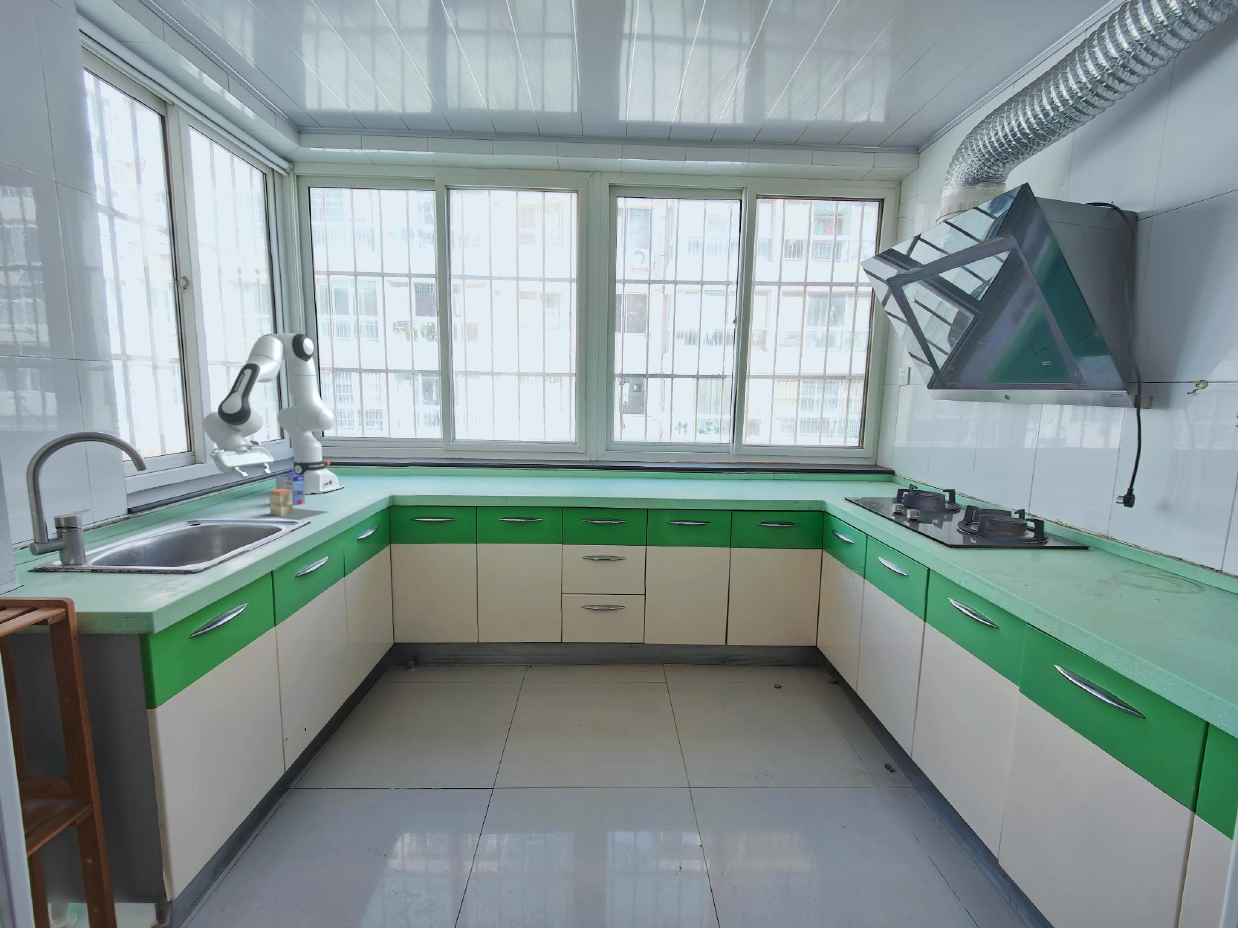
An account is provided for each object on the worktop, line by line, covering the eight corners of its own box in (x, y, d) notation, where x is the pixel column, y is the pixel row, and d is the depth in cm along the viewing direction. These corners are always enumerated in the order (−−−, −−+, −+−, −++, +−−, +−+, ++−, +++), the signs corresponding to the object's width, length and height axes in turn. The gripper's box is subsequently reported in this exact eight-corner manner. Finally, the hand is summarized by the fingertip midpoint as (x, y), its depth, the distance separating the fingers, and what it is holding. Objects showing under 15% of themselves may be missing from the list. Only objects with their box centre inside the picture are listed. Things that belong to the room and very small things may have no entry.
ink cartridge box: (306, 504, 220) (304, 469, 218) (293, 506, 215) (291, 471, 213) (288, 502, 223) (286, 467, 221) (276, 504, 218) (273, 469, 216)
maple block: (282, 511, 203) (281, 488, 202) (292, 513, 202) (291, 489, 201) (270, 514, 198) (269, 490, 197) (281, 515, 197) (279, 491, 196)
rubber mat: (292, 509, 210) (291, 508, 210) (329, 513, 205) (329, 511, 205) (259, 516, 197) (259, 515, 197) (298, 521, 192) (298, 519, 192)
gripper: (211, 445, 192) (234, 474, 190) (263, 441, 211) (284, 467, 210) (203, 457, 194) (225, 485, 192) (255, 452, 213) (276, 477, 212)
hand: (256, 476), depth 201 cm, fingers open, 8 cm apart
